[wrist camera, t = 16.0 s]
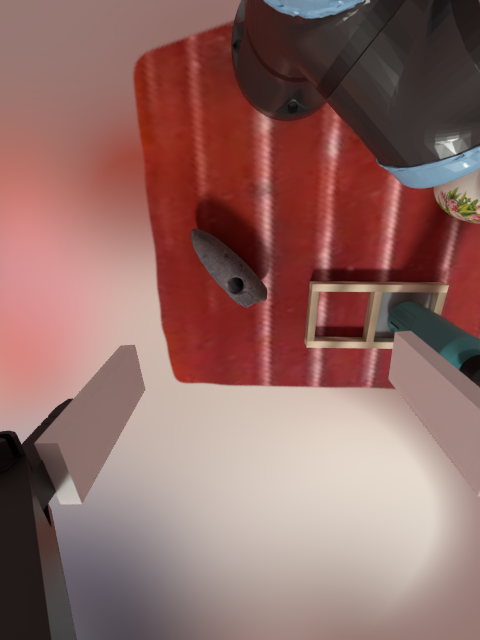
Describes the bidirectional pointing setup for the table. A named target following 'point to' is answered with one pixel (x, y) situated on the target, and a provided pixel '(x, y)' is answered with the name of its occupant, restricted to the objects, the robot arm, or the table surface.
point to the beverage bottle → (438, 336)
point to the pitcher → (461, 197)
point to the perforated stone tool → (228, 269)
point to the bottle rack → (372, 309)
